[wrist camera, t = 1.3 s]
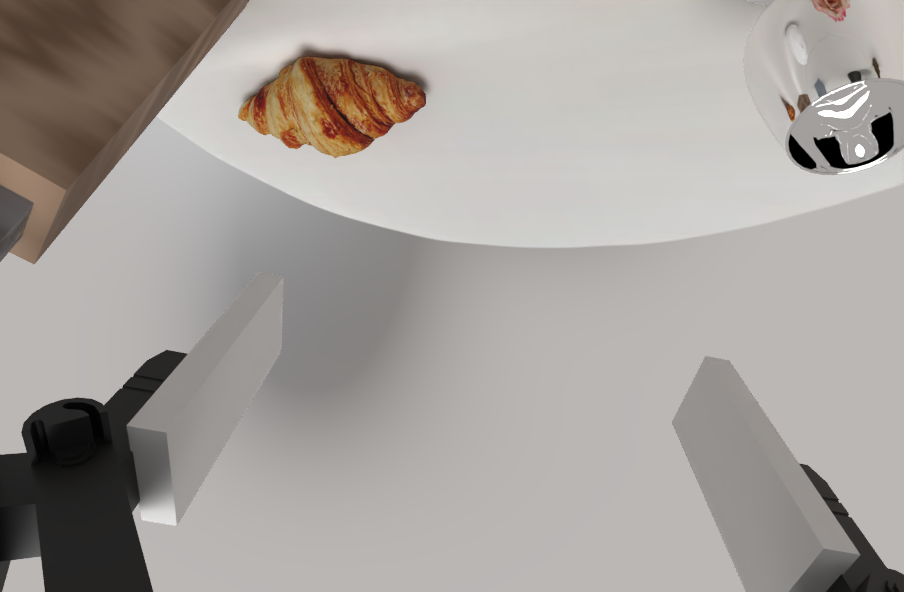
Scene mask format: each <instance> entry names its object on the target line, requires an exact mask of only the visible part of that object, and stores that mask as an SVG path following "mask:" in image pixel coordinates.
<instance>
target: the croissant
mask: <svg viewBox="0 0 904 592" xmlns="http://www.w3.org/2000/svg"><path fill="white" fill-rule="evenodd" d="M425 104H426V94H425V93H424V92H423V91H422V89H420V86H418V85H416V84H415V83H414V82H410V81H405V80H404V79H400V78H397V77H396V76H394V75H393V74H392V73H389V71H387V70H385V69H384V68H382V67H378V66H373V65H365V64H359V63H357V62H355V61H352V60H349V59H334V58H333V59H325V58H319V57H313V58H312V57H299V58H298V59H297V60H296V62H295V63H294V64H292V65H289V66H287V67H285V68H283V69H282V70H281V71H280V74H279V77H278V78H277V79H276V80H274V81H273V82H272V83H271V84H267V85H266V86H264V87H263V88H262V89H261V90H260V91H259V92H258V93H257V95H255V96H252V97H251V98H250V99H249V100H248V101H247V102H245V103H244V104H243V105H242V106H241V108H240V109H239V114H238V117H239V119H241V120H243V121H247V122H248V123H249V124H250V125H251V126H252V127H253V128H254V129H255V130H256V131H257V132H259V133H261V134H263V135H267V134H272V135H273V136H275V137H276V138H278V139H280V140H281V141H282V142H283V143H284V144H285V145H286V146H288V147H289V148H295V149H298V148H300V147H301V146H302V145H304V144H306V143H307V144H308V145H313V147H315V148H316V149H317V150H318V151H320V152H321V153H324V154H327V155H331V156H333V157H335V158H337V157H339V156H345V155H350V154H354V153H357V152H359V151H362V150H364V149H365V148H367V147H368V146H369V145H370V144H371V143H372V142H373V141H374V140H375V139H376V138H378V137H380V136H383V135H385V134H386V133H387V132H388V131H389V130H390V128H391V127H392V126H393V125H394V124H395V123H401V122H404V121H407V120H409V119H410V118H411V117H412V116H413V115H414V113H415V112H417V111H418V110H419V109H420V108H422V107H424V106H425Z"/></svg>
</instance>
